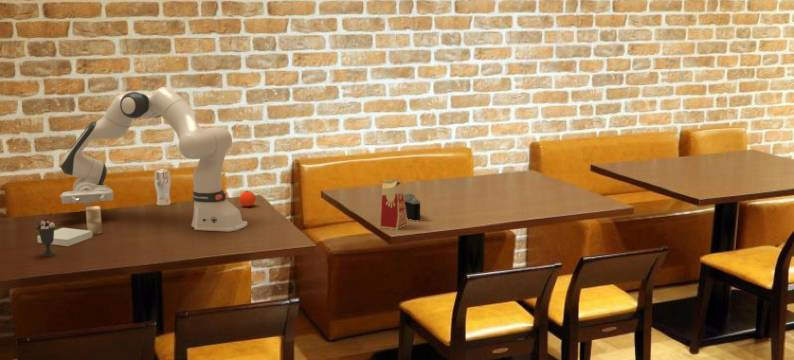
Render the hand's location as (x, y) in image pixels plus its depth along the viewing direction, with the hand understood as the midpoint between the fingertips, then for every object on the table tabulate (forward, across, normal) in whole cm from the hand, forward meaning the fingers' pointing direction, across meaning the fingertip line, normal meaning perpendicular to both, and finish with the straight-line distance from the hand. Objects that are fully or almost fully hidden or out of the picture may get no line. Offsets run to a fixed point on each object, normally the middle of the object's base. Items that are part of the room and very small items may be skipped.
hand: (89, 200), depth 381 cm
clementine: (-9, +66, +10) cm, 68 cm away
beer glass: (-28, +34, +10) cm, 45 cm away
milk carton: (+50, +111, +9) cm, 122 cm away
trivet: (+20, -11, +10) cm, 25 cm away
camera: (+38, +124, +9) cm, 130 cm away
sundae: (+38, -18, +10) cm, 43 cm away
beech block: (+13, 0, +10) cm, 16 cm away
